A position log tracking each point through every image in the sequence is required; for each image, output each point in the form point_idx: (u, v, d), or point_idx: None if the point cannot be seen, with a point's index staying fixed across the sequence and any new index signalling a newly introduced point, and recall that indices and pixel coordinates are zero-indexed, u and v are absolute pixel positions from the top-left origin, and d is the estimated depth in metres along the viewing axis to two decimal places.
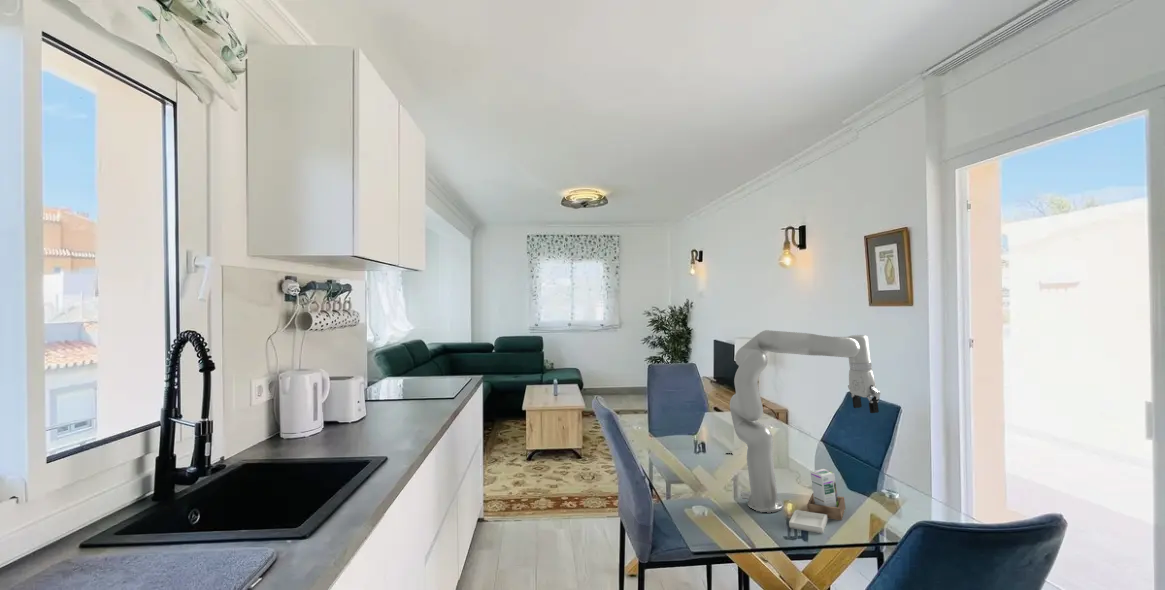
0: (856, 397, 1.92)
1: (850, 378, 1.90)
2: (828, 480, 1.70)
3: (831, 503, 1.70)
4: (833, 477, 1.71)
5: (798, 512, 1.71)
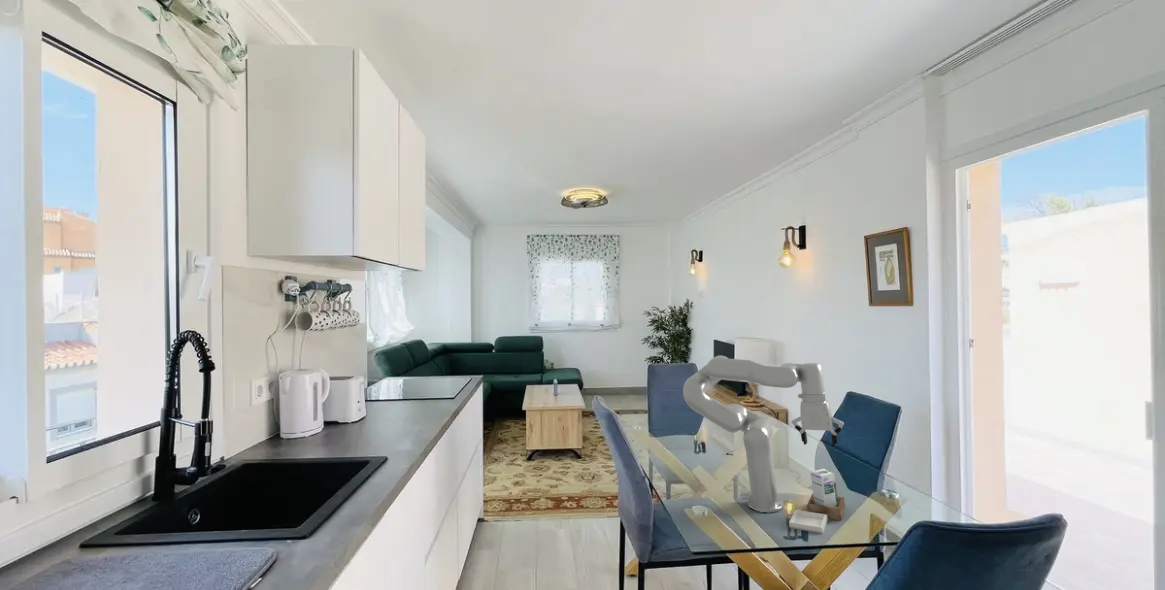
0: (804, 432, 1.76)
1: (804, 412, 1.73)
2: (828, 480, 1.70)
3: (831, 503, 1.70)
4: (833, 477, 1.71)
5: (798, 512, 1.71)
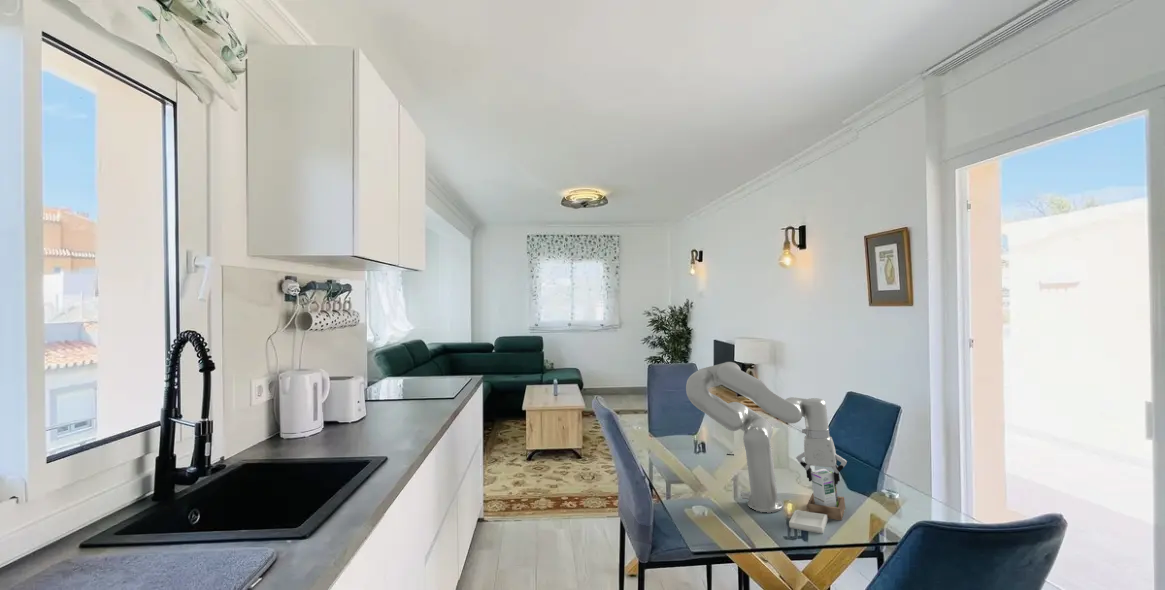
0: (810, 468, 1.75)
1: (808, 448, 1.73)
2: (828, 480, 1.70)
3: (831, 503, 1.70)
4: (833, 477, 1.71)
5: (798, 512, 1.71)
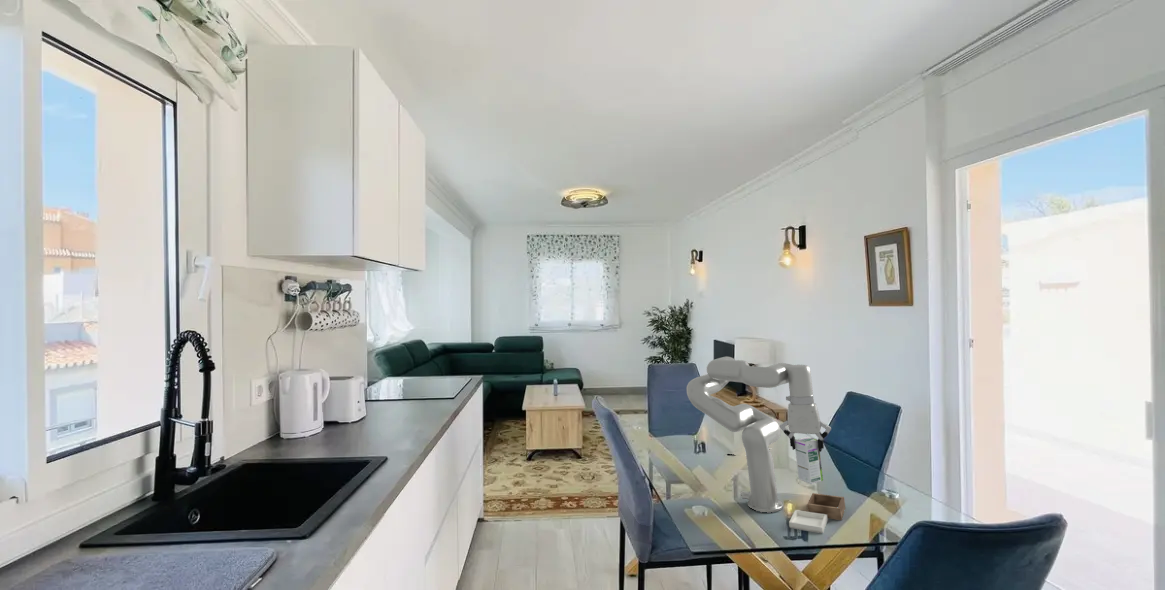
0: (793, 436, 1.71)
1: (792, 415, 1.68)
2: (812, 448, 1.66)
3: (815, 471, 1.66)
4: (817, 444, 1.67)
5: (798, 512, 1.71)
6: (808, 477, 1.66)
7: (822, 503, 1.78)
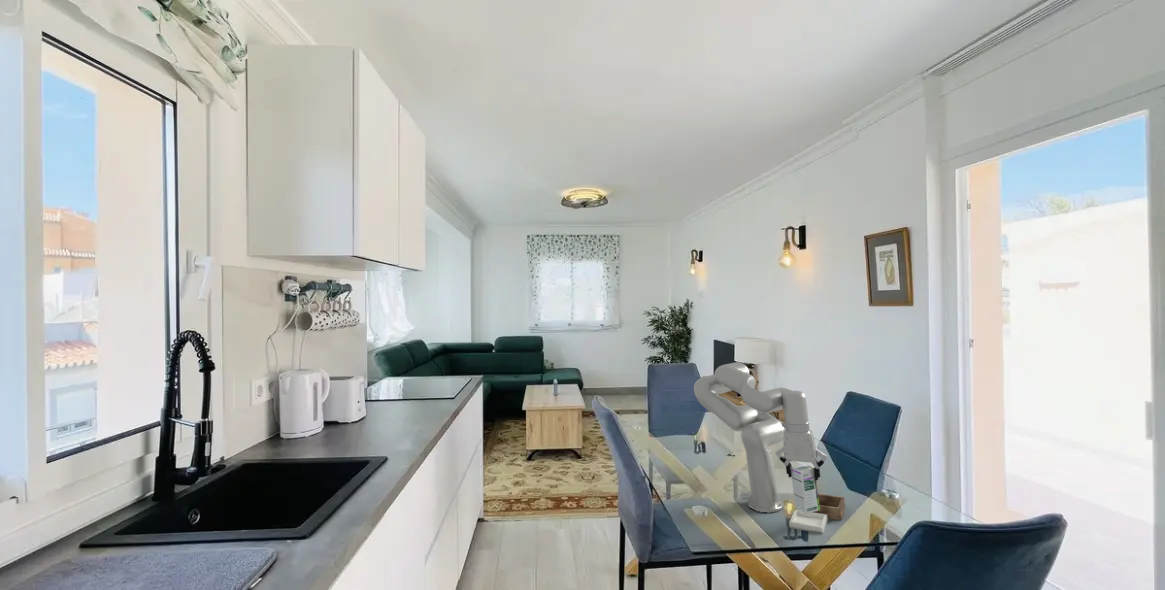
0: (789, 464, 1.68)
1: (787, 442, 1.66)
2: (808, 476, 1.63)
3: (812, 500, 1.63)
4: (813, 473, 1.64)
5: (798, 512, 1.71)
6: (804, 506, 1.62)
7: (822, 503, 1.78)
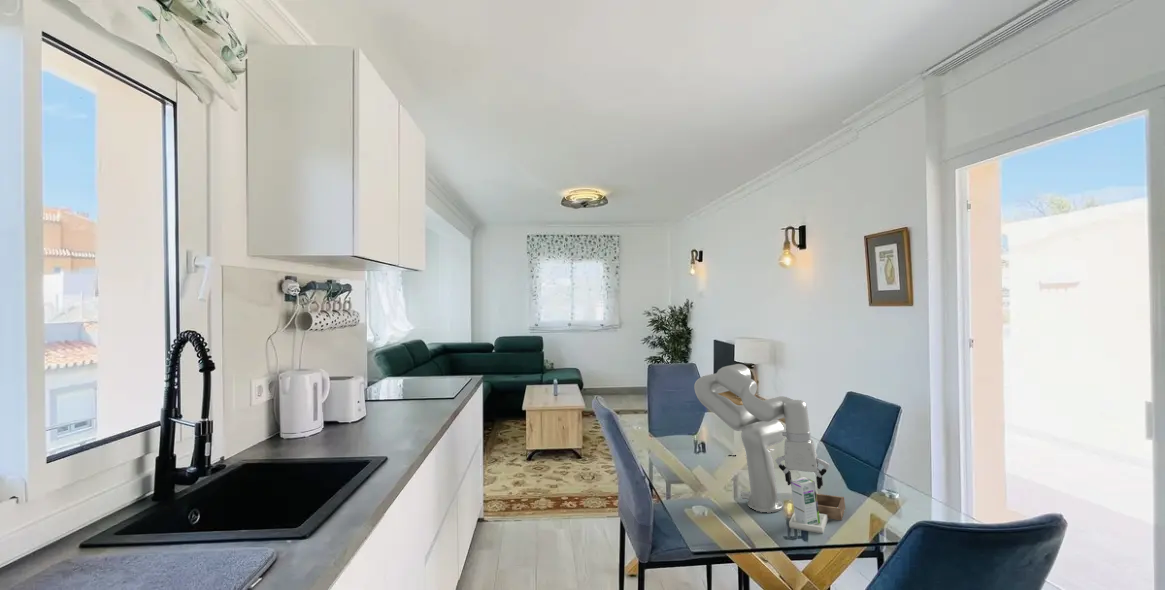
0: (788, 472, 1.68)
1: (788, 451, 1.66)
2: (808, 489, 1.63)
3: (812, 513, 1.63)
4: (813, 486, 1.64)
5: None
6: (804, 519, 1.63)
7: (822, 503, 1.78)
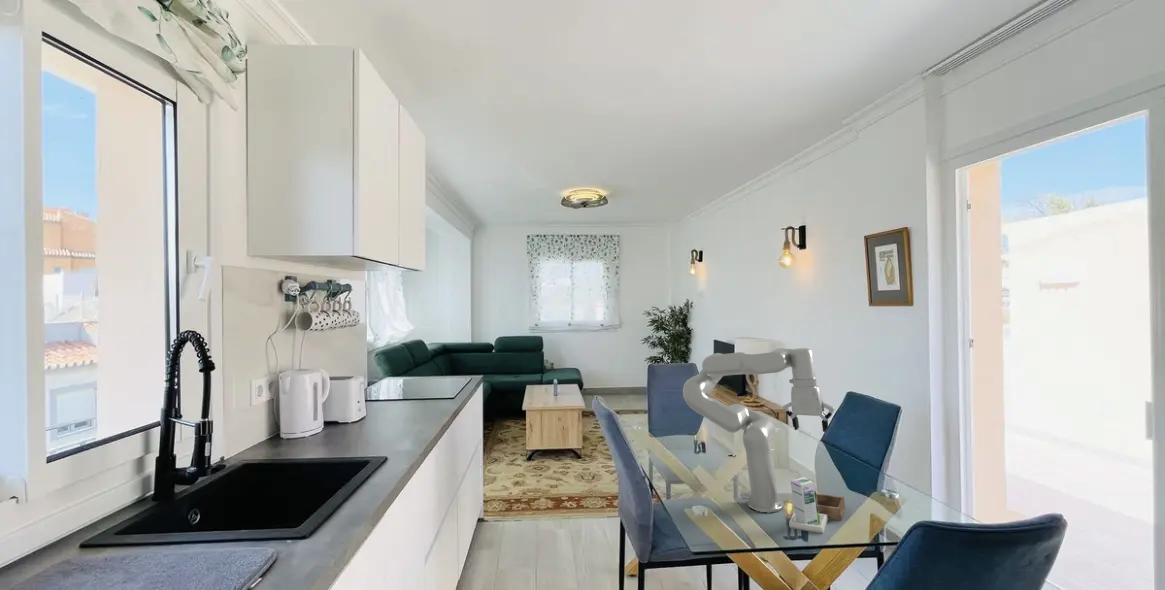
0: (795, 417, 1.75)
1: (795, 397, 1.73)
2: (808, 489, 1.63)
3: (812, 513, 1.63)
4: (813, 486, 1.64)
5: None
6: (804, 519, 1.63)
7: (822, 503, 1.78)
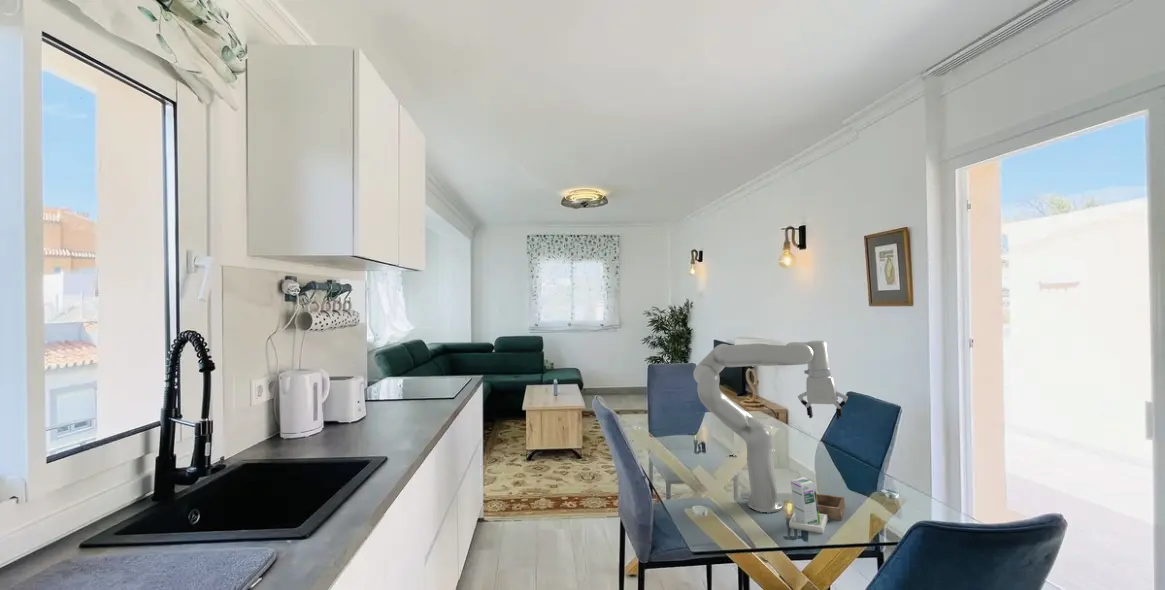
0: (810, 406, 1.85)
1: (810, 387, 1.82)
2: (808, 489, 1.63)
3: (812, 513, 1.63)
4: (813, 486, 1.64)
5: None
6: (804, 519, 1.63)
7: (822, 503, 1.78)
